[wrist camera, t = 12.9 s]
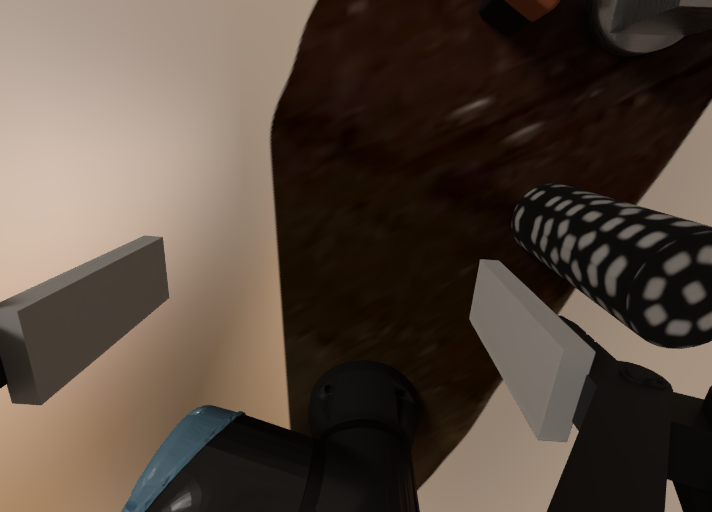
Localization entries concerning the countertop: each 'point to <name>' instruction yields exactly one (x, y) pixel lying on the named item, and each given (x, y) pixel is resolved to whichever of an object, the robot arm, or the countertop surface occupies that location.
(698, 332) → the white-spotted black cylinder
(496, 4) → the battery
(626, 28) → the recessed metal cube
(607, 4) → the ratchet
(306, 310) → the countertop surface
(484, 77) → the countertop surface
